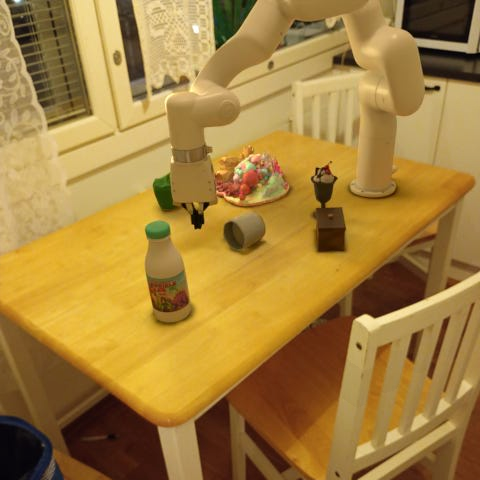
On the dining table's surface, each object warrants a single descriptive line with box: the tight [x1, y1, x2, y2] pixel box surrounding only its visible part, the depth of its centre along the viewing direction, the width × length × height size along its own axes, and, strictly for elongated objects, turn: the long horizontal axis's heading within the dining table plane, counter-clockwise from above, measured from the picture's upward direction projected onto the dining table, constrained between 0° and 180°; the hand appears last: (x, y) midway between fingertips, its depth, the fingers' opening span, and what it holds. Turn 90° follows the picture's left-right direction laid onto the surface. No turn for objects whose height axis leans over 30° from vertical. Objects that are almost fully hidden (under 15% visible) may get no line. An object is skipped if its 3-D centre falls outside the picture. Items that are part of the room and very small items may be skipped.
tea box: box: [315, 206, 347, 252], centre depth 125 cm, size 6×10×7 cm, turn 176°
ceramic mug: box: [222, 211, 267, 252], centre depth 128 cm, size 11×8×8 cm
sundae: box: [310, 160, 339, 218], centre depth 134 cm, size 7×7×15 cm
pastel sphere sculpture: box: [214, 144, 290, 207], centre depth 153 cm, size 25×24×9 cm
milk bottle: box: [144, 220, 192, 323], centre depth 103 cm, size 8×8×20 cm
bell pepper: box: [152, 171, 179, 211], centre depth 145 cm, size 8×8×10 cm
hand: (198, 226), depth 128 cm, fingers closed
